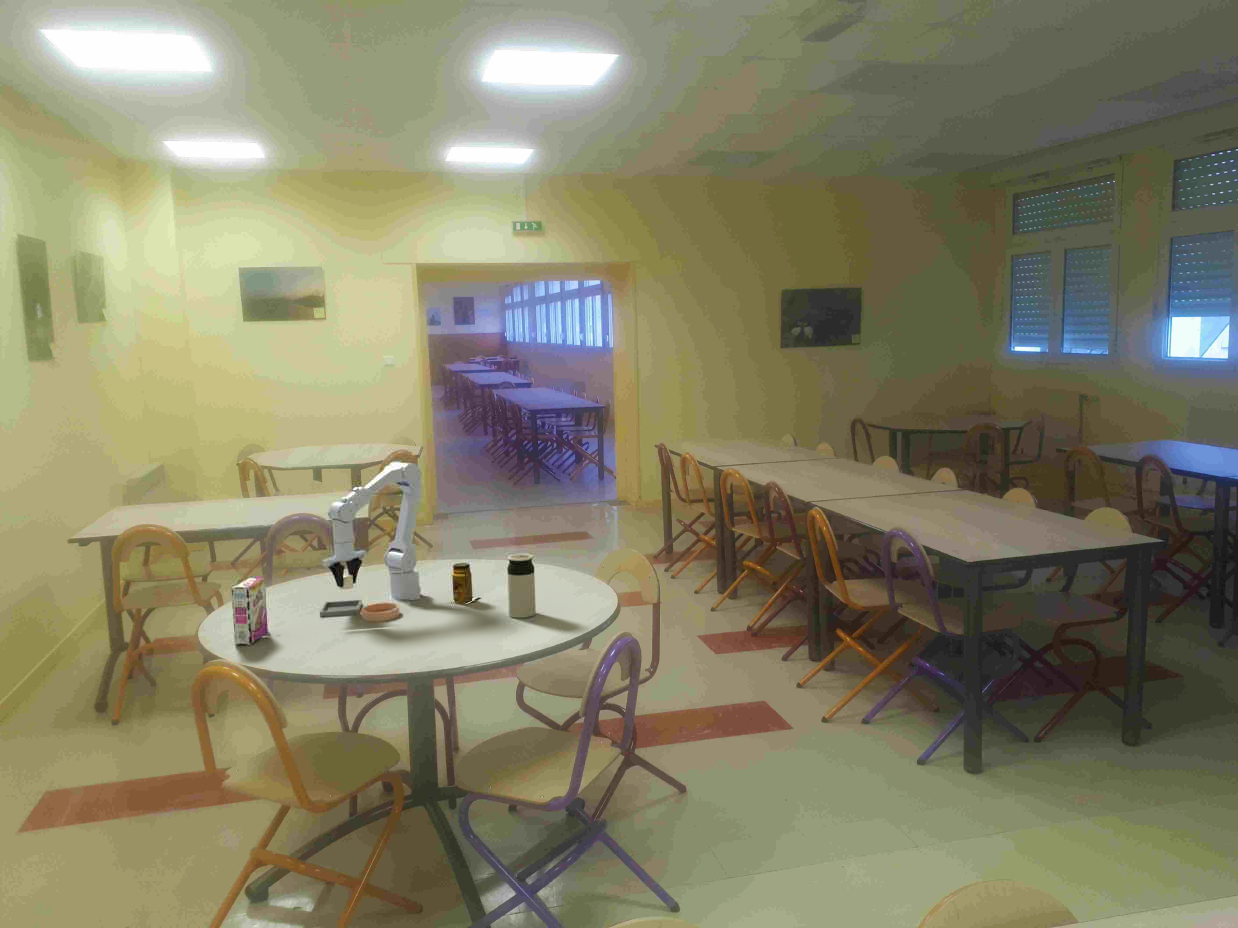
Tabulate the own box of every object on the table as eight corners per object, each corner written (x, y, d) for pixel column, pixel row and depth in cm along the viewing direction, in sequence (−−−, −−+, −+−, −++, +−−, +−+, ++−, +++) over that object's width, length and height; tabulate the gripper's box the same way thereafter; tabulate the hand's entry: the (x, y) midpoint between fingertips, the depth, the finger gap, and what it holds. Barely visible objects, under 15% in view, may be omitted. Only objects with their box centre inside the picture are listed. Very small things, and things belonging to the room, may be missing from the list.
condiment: (447, 603, 282) (446, 566, 280) (462, 595, 290) (460, 560, 288) (467, 605, 279) (466, 567, 277) (481, 597, 287) (480, 561, 285)
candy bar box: (252, 645, 244) (248, 587, 242) (234, 645, 244) (229, 587, 242) (269, 632, 255) (265, 577, 253) (252, 632, 255) (248, 577, 253)
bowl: (400, 610, 274) (400, 601, 274) (398, 621, 263) (397, 611, 263) (364, 613, 272) (363, 603, 272) (360, 623, 262) (359, 614, 261)
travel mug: (531, 619, 263) (529, 559, 261) (505, 618, 265) (503, 559, 262) (538, 611, 271) (537, 553, 268) (513, 610, 272) (511, 552, 270)
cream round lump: (354, 585, 274) (353, 573, 274) (352, 588, 270) (351, 577, 270) (340, 586, 274) (340, 574, 273) (338, 589, 270) (338, 577, 269)
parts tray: (362, 605, 280) (361, 599, 280) (358, 615, 270) (357, 609, 269) (325, 608, 278) (325, 602, 278) (320, 618, 268) (319, 612, 267)
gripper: (354, 535, 278) (357, 577, 280) (315, 544, 267) (318, 588, 268) (369, 537, 274) (372, 580, 276) (329, 547, 262) (332, 591, 264)
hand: (346, 584), depth 272 cm, fingers closed on cream round lump, 4 cm apart
